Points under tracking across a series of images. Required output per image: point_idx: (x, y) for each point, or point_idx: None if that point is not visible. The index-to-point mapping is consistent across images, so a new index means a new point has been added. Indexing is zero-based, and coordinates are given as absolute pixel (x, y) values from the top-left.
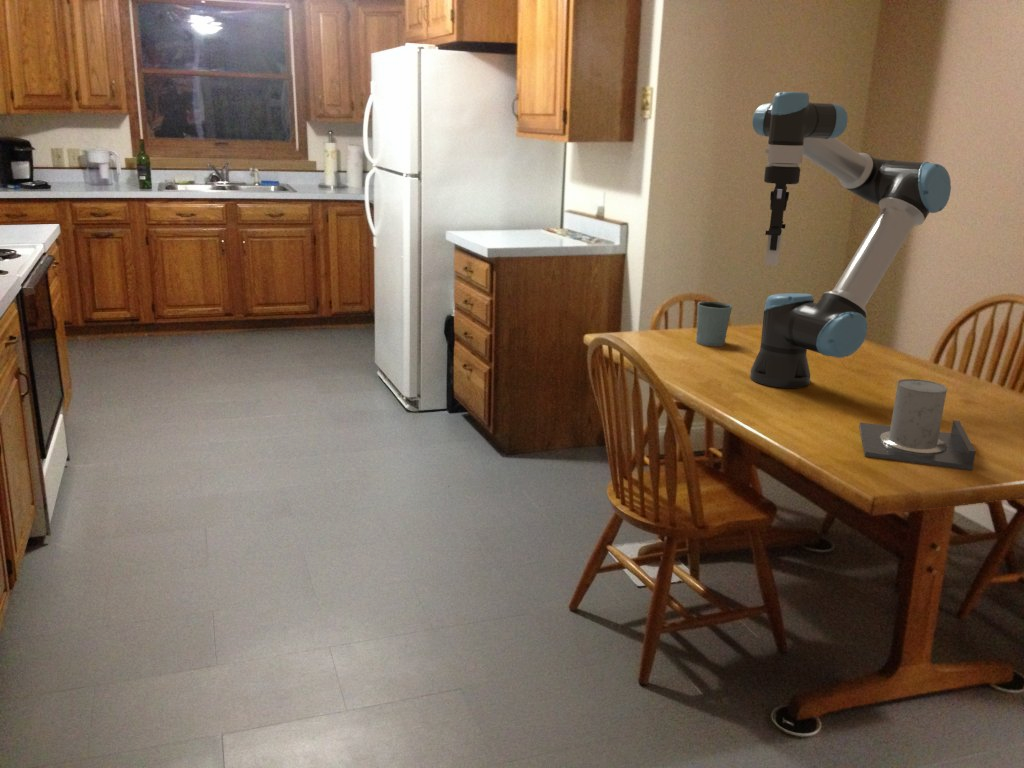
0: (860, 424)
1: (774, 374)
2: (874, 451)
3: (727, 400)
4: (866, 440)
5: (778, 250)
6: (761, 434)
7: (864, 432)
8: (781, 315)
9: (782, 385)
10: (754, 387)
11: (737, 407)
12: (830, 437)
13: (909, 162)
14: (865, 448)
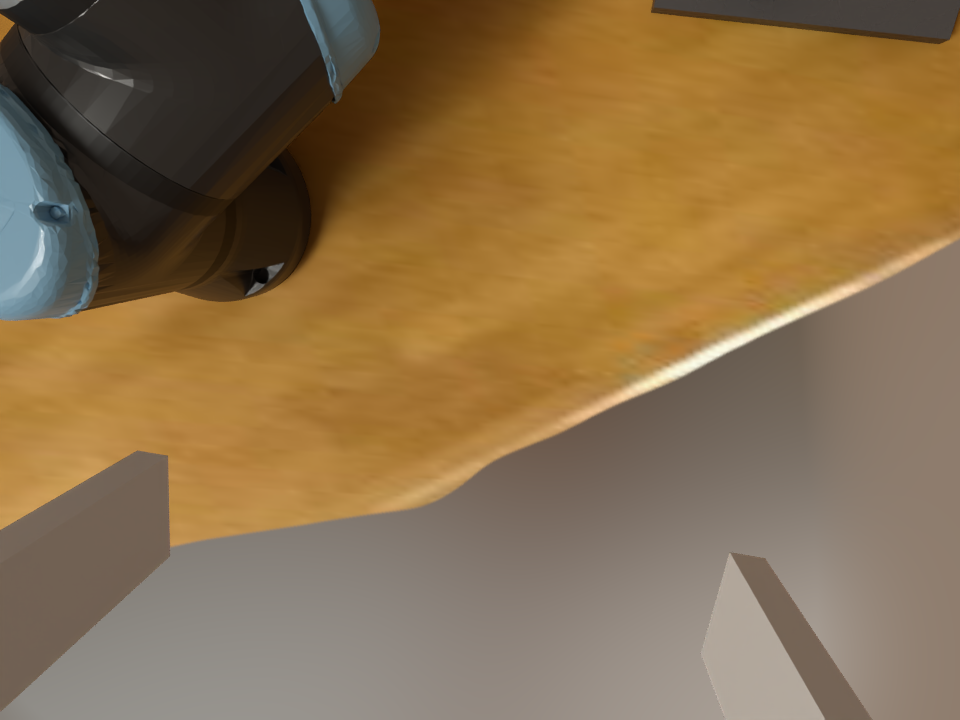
0: (676, 8)
1: (287, 239)
2: (942, 8)
3: (483, 382)
4: (837, 16)
5: (841, 690)
6: (773, 321)
7: (758, 9)
8: (140, 249)
9: (307, 211)
10: (329, 295)
11: (542, 361)
12: (772, 124)
13: None
14: (916, 34)
